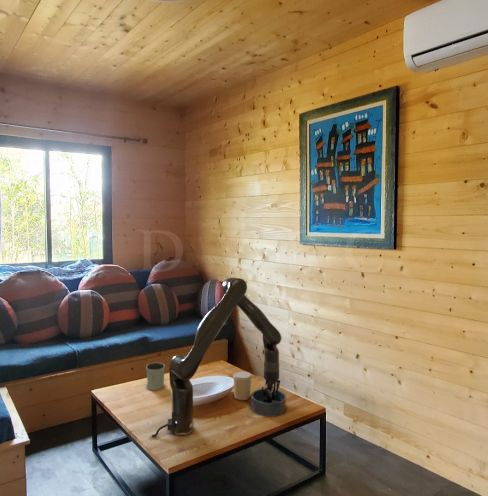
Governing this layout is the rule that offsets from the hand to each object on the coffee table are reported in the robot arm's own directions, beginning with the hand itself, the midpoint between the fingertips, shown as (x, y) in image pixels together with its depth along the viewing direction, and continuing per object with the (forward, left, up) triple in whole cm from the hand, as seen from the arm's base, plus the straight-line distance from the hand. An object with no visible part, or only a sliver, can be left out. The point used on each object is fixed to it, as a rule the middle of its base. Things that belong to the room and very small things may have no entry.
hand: (271, 402), depth 208 cm
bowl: (-1, 0, -2) cm, 3 cm away
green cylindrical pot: (-57, +29, -2) cm, 64 cm away
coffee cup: (-12, +13, -2) cm, 18 cm away
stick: (0, 0, -1) cm, 1 cm away
